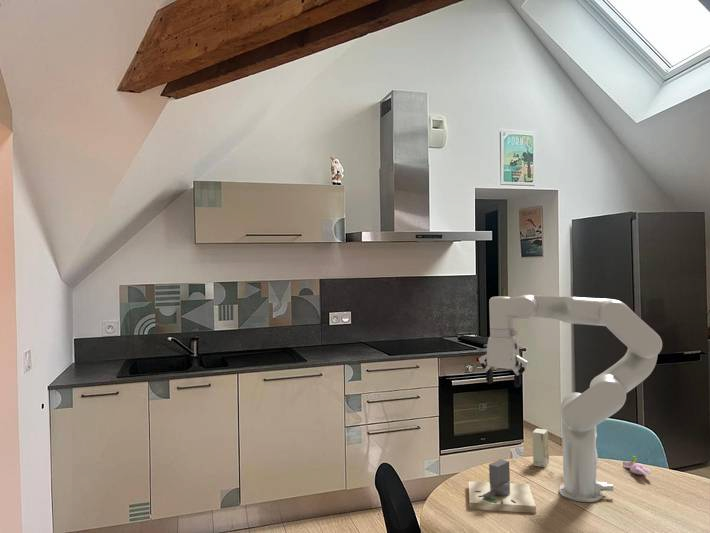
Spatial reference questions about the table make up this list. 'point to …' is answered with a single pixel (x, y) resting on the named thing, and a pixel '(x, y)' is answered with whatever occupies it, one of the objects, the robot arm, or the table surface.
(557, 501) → the table surface
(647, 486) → the table surface
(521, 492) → the dial board
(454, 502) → the table surface
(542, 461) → the skincare box
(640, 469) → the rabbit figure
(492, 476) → the knob
